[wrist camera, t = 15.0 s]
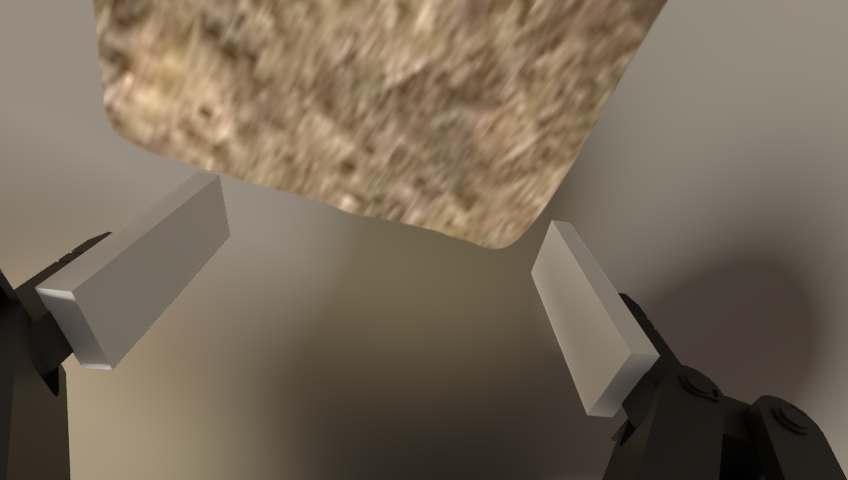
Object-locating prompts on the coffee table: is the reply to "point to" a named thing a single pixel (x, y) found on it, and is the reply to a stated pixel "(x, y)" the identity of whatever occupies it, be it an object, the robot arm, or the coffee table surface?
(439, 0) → the coffee table surface
